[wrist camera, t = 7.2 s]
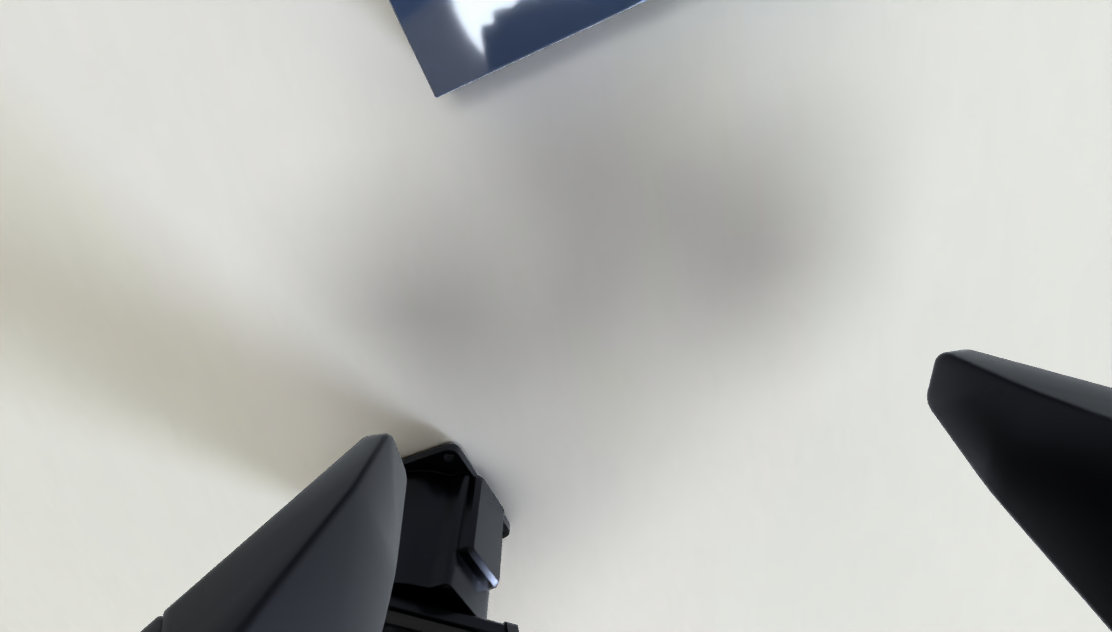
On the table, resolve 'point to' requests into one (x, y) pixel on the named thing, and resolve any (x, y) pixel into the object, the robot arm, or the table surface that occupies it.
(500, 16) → the tap base
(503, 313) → the table surface
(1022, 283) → the table surface
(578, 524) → the table surface
